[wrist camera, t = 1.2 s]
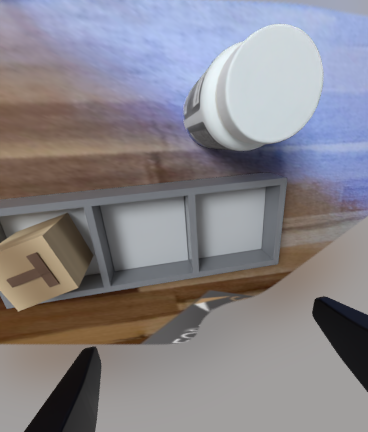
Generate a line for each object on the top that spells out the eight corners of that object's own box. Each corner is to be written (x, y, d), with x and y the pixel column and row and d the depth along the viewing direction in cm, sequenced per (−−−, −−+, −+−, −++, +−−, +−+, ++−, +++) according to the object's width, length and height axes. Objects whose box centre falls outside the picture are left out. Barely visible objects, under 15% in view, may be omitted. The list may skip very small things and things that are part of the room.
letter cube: (67, 212, 15) (41, 236, 12) (93, 255, 17) (77, 288, 13) (16, 231, 15) (-28, 262, 11) (47, 273, 17) (17, 312, 13)
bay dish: (267, 172, 18) (287, 177, 15) (261, 248, 20) (278, 264, 18) (-8, 200, 15) (-40, 212, 12) (27, 284, 18) (6, 308, 15)
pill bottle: (248, 134, 16) (338, 129, 9) (194, 157, 16) (236, 172, 9) (233, 67, 15) (328, -15, 7) (171, 92, 15) (199, 37, 7)
